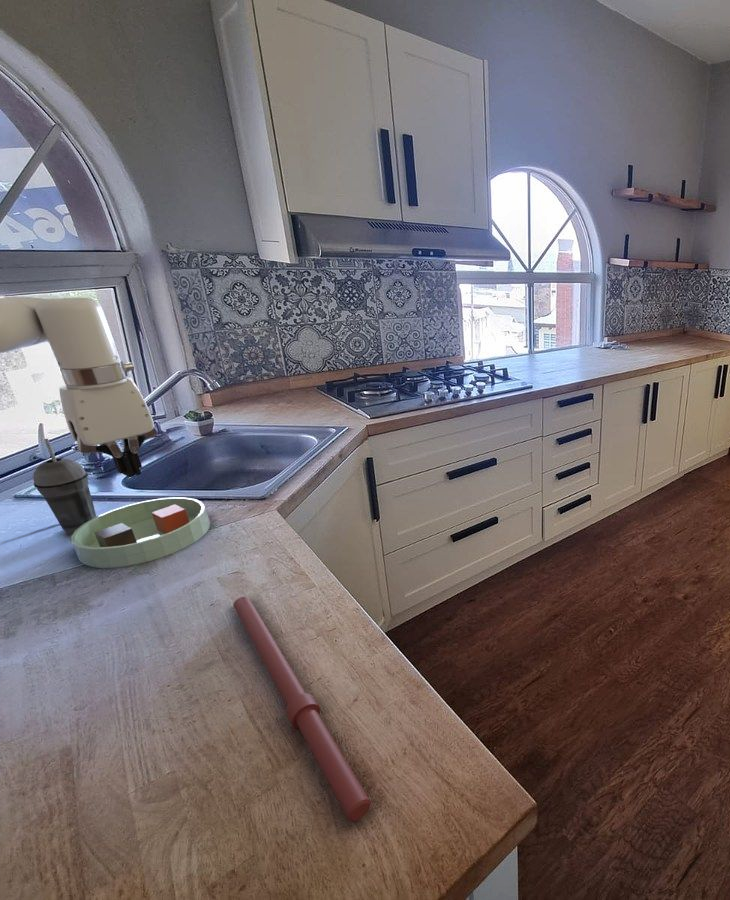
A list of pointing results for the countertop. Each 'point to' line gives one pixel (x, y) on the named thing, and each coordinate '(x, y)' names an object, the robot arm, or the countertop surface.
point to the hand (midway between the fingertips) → (132, 474)
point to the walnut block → (115, 536)
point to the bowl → (140, 533)
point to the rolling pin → (305, 715)
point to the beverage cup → (65, 491)
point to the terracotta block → (170, 518)
